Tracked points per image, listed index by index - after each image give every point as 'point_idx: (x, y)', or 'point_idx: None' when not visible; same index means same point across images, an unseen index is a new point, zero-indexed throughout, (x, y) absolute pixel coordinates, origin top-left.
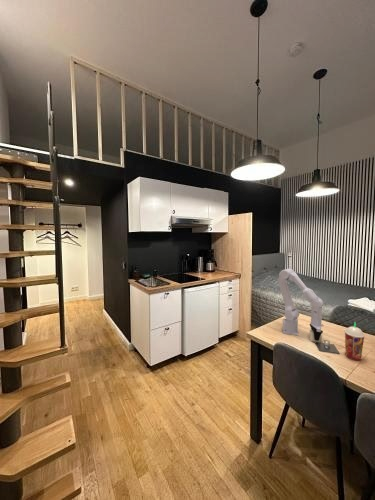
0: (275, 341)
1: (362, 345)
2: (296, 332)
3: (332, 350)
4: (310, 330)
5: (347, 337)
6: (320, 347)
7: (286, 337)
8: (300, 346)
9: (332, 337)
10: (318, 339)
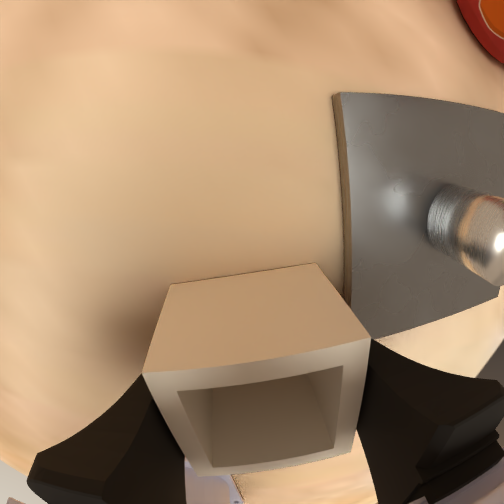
0: None
1: None
2: (201, 478)
3: (496, 172)
4: (211, 472)
5: None
6: (469, 288)
7: (306, 486)
8: None
9: (25, 98)
10: None
